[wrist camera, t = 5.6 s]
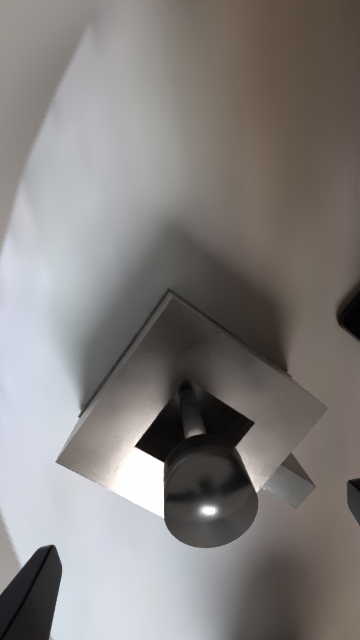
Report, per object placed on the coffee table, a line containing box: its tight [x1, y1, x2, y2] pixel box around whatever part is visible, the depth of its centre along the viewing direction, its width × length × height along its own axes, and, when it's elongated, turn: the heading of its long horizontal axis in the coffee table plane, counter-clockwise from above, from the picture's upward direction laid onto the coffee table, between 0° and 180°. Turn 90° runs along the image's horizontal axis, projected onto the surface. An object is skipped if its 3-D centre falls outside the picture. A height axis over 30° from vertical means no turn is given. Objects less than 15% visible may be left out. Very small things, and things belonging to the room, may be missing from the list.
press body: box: [56, 288, 328, 517], centre depth 13 cm, size 9×12×4 cm
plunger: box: [163, 389, 258, 548], centre depth 11 cm, size 3×3×7 cm
